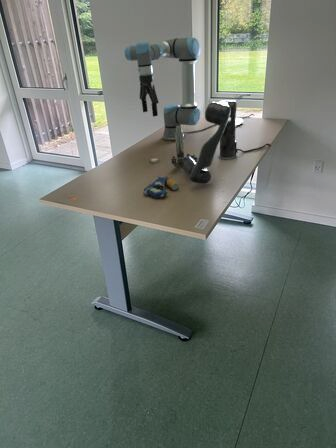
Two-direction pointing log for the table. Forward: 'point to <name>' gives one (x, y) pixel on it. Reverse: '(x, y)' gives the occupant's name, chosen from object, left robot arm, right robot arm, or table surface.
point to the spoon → (238, 121)
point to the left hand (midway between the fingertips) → (150, 113)
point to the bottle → (179, 143)
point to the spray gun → (160, 183)
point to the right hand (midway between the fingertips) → (180, 156)
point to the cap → (154, 160)
